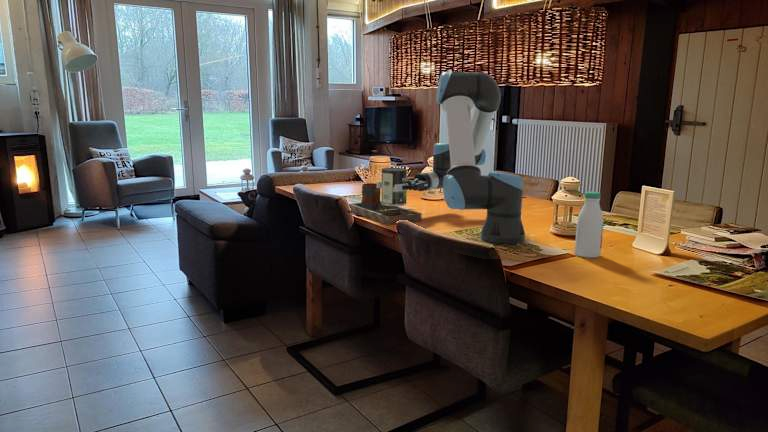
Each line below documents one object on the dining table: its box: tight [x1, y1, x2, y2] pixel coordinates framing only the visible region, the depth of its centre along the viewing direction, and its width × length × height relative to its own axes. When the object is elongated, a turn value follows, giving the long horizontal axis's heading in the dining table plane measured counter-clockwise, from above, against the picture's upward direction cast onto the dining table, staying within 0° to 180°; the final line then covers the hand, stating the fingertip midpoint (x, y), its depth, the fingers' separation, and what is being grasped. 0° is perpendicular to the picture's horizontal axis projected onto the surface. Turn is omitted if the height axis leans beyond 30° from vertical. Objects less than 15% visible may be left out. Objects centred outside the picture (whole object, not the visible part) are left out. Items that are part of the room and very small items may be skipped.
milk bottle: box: [574, 190, 604, 259], centre depth 173 cm, size 8×8×20 cm
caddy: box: [348, 202, 422, 226], centre depth 231 cm, size 32×16×3 cm, turn 32°
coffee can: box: [380, 167, 408, 207], centre depth 222 cm, size 10×10×14 cm
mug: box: [360, 182, 382, 211], centre depth 237 cm, size 9×12×12 cm
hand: (386, 186), depth 220 cm, fingers closed on coffee can, 10 cm apart
